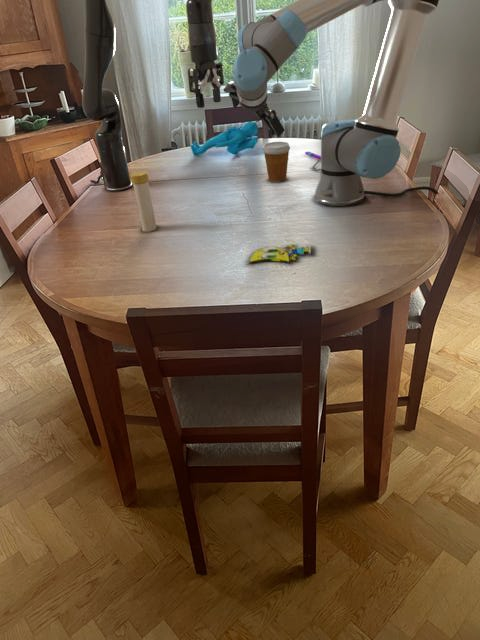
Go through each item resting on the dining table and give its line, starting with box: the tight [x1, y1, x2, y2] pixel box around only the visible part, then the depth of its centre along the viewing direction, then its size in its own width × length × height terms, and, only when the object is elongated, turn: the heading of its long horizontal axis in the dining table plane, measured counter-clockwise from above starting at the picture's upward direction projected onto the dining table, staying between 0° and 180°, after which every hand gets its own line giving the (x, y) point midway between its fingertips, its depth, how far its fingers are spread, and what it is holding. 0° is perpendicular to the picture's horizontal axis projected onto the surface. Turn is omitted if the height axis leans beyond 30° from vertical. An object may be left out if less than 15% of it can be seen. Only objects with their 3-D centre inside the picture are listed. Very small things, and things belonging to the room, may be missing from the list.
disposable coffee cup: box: [262, 141, 291, 183], centre depth 169 cm, size 10×10×12 cm
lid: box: [129, 170, 150, 184], centre depth 134 cm, size 5×5×2 cm
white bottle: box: [132, 181, 157, 233], centre depth 138 cm, size 4×4×16 cm
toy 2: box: [248, 244, 312, 265], centre depth 120 cm, size 10×1×15 cm
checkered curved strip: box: [304, 151, 321, 171], centre depth 185 cm, size 24×2×20 cm
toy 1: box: [190, 121, 260, 157], centre depth 206 cm, size 17×11×30 cm
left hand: (209, 104), depth 142 cm, fingers open, 8 cm apart
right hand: (255, 119), depth 141 cm, fingers open, 13 cm apart
